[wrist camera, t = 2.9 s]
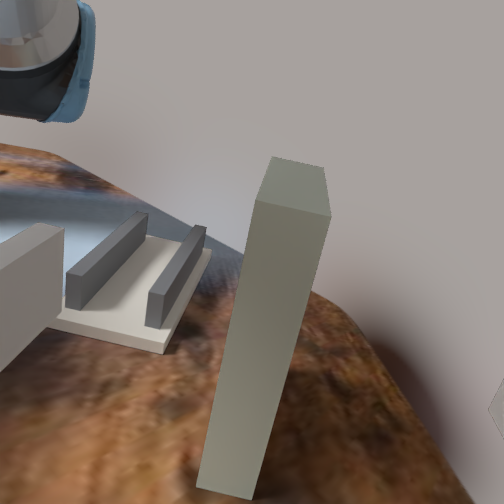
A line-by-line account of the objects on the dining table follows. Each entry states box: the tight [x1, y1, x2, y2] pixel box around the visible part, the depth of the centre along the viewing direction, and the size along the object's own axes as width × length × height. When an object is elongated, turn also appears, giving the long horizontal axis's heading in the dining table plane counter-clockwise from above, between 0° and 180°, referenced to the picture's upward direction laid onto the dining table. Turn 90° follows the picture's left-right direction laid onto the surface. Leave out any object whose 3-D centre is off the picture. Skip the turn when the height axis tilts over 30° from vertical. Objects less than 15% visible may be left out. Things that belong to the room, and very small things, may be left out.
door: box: [196, 157, 331, 500], centre depth 25 cm, size 10×3×16 cm, turn 174°
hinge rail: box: [47, 211, 212, 355], centre depth 41 cm, size 18×9×4 cm, turn 174°
